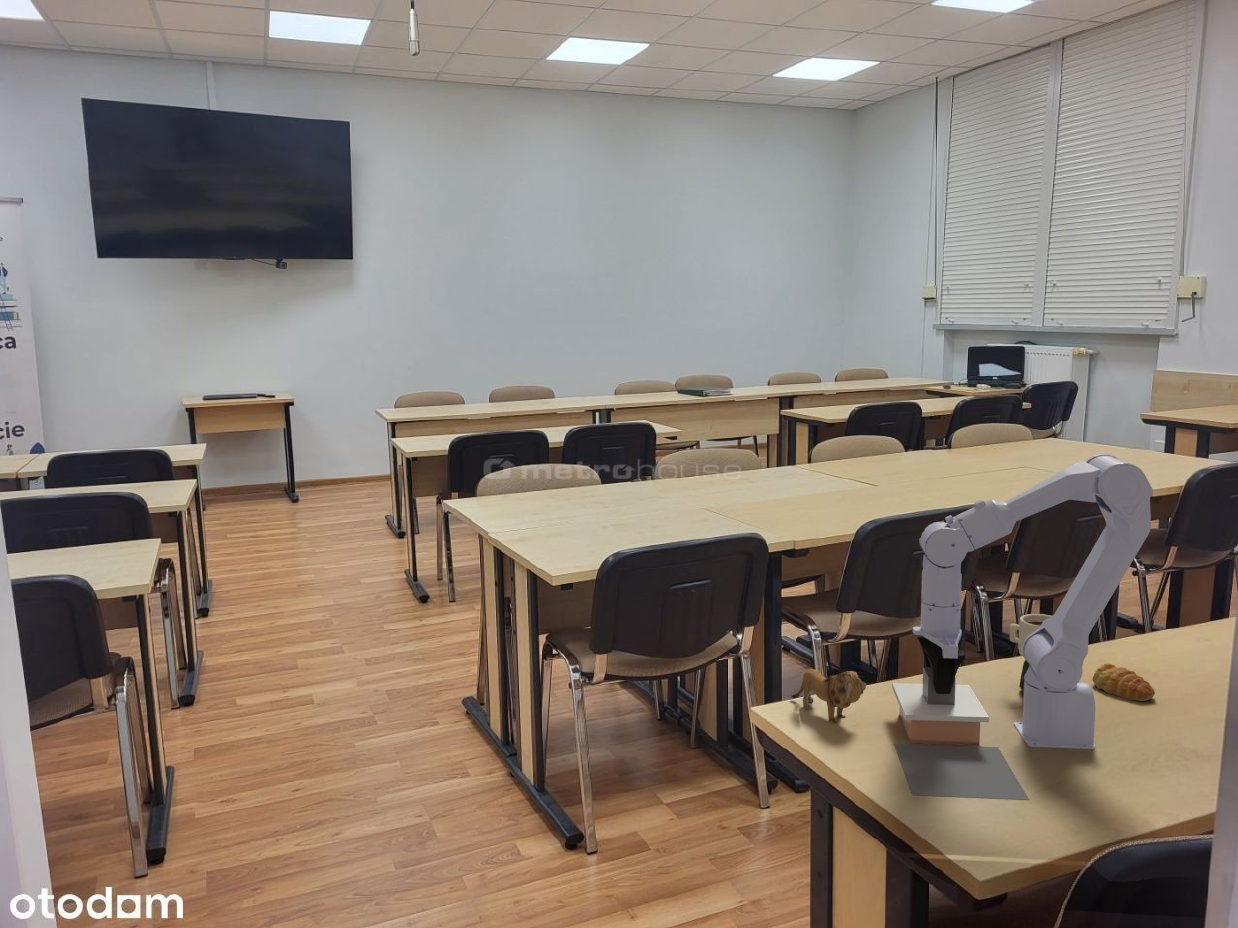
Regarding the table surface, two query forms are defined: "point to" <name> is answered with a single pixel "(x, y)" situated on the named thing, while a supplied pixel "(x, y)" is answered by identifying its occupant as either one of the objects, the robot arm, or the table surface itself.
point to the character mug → (1026, 635)
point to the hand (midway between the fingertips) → (938, 686)
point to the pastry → (1122, 683)
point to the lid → (938, 702)
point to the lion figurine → (831, 690)
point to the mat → (958, 772)
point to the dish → (942, 731)
